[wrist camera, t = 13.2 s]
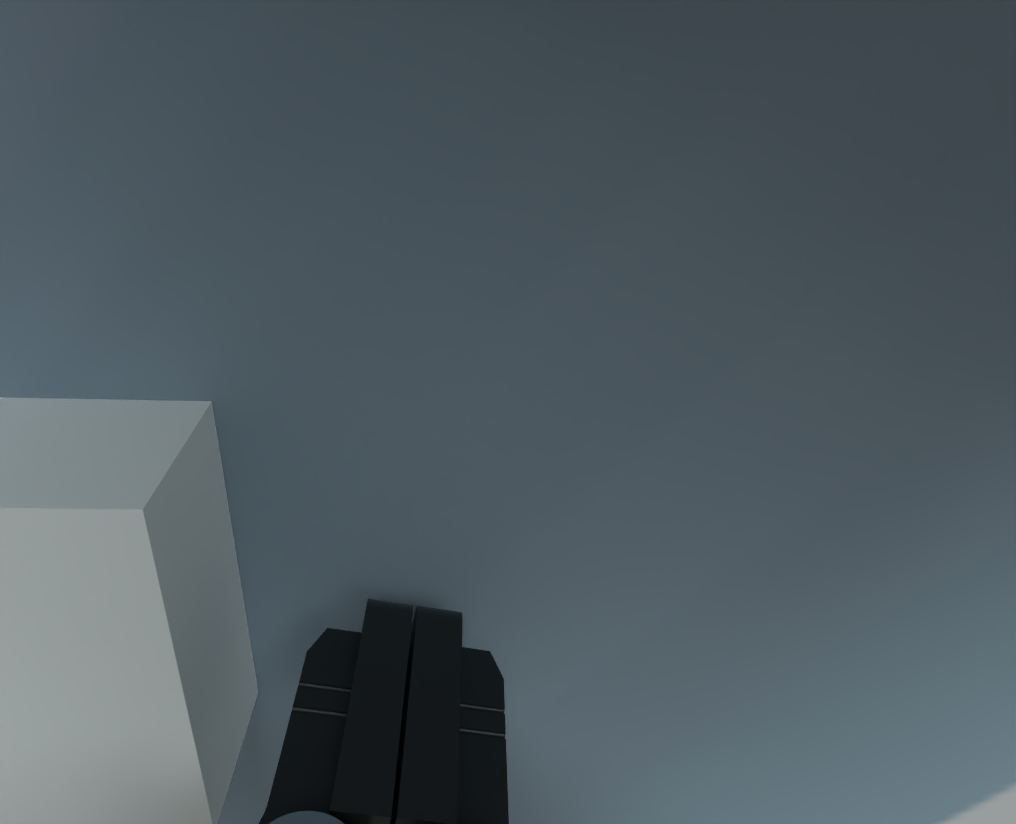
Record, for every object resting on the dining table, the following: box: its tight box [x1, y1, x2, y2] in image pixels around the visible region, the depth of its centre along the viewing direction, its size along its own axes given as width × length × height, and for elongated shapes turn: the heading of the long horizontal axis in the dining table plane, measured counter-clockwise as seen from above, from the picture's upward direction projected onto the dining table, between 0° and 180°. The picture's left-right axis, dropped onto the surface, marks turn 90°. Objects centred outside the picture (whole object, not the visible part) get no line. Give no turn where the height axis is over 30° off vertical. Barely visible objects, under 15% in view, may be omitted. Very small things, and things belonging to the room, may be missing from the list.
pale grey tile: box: [0, 397, 259, 824], centre depth 12 cm, size 6×6×3 cm
